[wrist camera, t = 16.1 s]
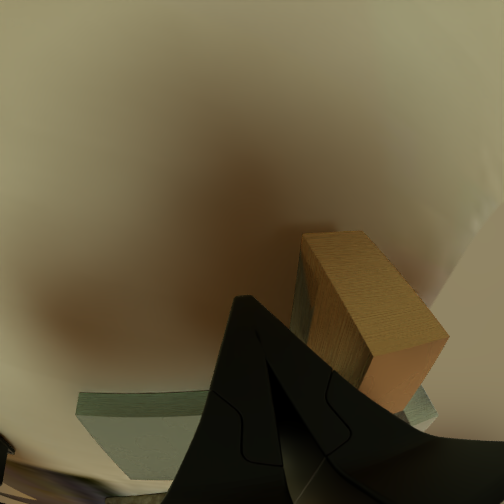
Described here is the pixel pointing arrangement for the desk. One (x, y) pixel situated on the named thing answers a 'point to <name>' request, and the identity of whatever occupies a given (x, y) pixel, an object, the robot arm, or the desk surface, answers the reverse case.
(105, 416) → the frosted green glass slab
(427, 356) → the light brown wooden block
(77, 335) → the desk surface
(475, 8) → the desk surface
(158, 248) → the desk surface
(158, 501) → the stone block
